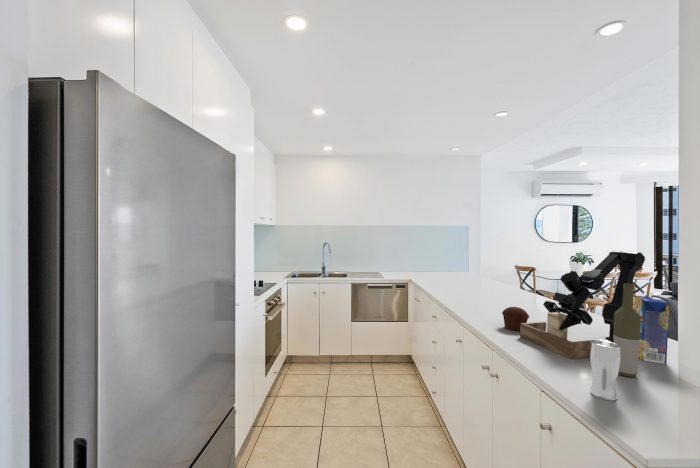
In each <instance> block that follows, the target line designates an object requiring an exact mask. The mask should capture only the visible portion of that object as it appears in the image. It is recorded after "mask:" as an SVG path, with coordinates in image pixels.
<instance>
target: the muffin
mask: <svg viewBox="0 0 700 468" xmlns="http://www.w3.org/2000/svg"><path fill="white" fill-rule="evenodd" d="M501 314H502V316H503V323H504V328H505V329H507V330H508V331H512V332H519V333H520V326H521V323H528V319H530V315H529V314H528V312H527V311H526V310H524V309H523V308H521V307H519V306H518V307H517V306H508V307H507V308H504V310H503V311H502V312H501Z"/></svg>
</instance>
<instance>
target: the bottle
mask: <svg viewBox="0 0 700 468" xmlns="http://www.w3.org/2000/svg"><path fill="white" fill-rule="evenodd" d="M623 288H624V290H623V306H622V307H621V308H620V309H618V310H617V311H616V312H615V313H614V333H613V340H612V341H613V343H616V344H618V345H619V346H620V368H619V373H618V375H621V376H624V377H632V378H633V377H636V376H637V374H638V368H639V357H638V356H639V343H640V328H641V315H640V314H639V313H638V312H637V311H636V310H635V309H634V290H635V283H632V284H630V283H624V285H623Z"/></svg>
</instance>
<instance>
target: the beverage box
mask: <svg viewBox="0 0 700 468" xmlns="http://www.w3.org/2000/svg"><path fill="white" fill-rule="evenodd" d="M633 308H634V309H635V310H636V311H637V312H638V313H639V314H640V315H641V328H640V343H639V356H638V359H640V360H641V361H644V362H645V361H646V362H651V363H659V364H665V365H666V364H667V358H668V357H667V356H668V340H669V339H668V338H669V319H670V317H669V315H670V302H668V301H667V300H666V301H665V300H663V299H662V298H659V297H654V296H642V295H634V302H633Z"/></svg>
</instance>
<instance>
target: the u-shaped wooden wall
mask: <svg viewBox="0 0 700 468" xmlns="http://www.w3.org/2000/svg"><path fill="white" fill-rule="evenodd" d="M519 336H520V338H521V339H524V340H526V341H528V342H531V343H533V344H535V345H537V346H540V347H543V348H544V349H546V350H549V351H552V352H554V353H556V354H558V355H561V356H563V355H564V357H566V358H568V359H570V358H571V359H570V360H577V358H579V359H586V358H585V357H588V358H590V349H591V341H592V340H593V339H590V340H589V339H588V340H580V341H579V340H577V341H570V340H568V339H567V340H566V339H563V338H561V337H558V336H555V335H552V334H550V333H547V321H538V322H535V321H534V322H527V323H521V326H520V332H519Z"/></svg>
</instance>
